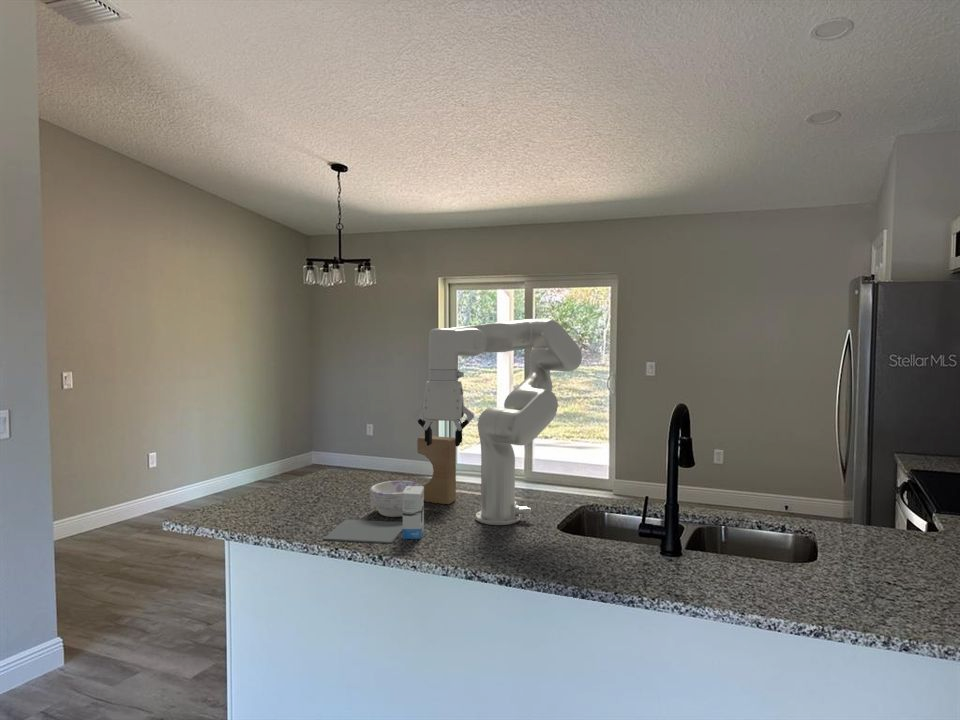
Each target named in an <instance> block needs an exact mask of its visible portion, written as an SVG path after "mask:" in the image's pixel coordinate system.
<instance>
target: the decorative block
mask: <svg viewBox="0 0 960 720" xmlns="http://www.w3.org/2000/svg"><path fill="white" fill-rule="evenodd" d="M456 447H457V446H455V437H451V436H450V437H449V436H438V435H437V436H436V435H432V444H431V445H429V446H427V442H425V435H423V436H420V437H418V438H417V453H418V454H419V455H423V456H424V457H425V458H427V459H428V460H429V462H430V463H431V465H432V469H433V470H432V477H431V479H430V480H429V481H428V482H424V483H420V484H421V485H422V486H424V501H425V502H424V503H429V502H432V503H431V504H437V503H439V504H438V505H445V504H449V505H451V504H452V503H454V502H455V501H456V499H457V496H456V495H457V489H456V486H457V485H456V483H457V481H456V480H457V470H456V469H457V451H456V450H457V448H456Z"/></svg>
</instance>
